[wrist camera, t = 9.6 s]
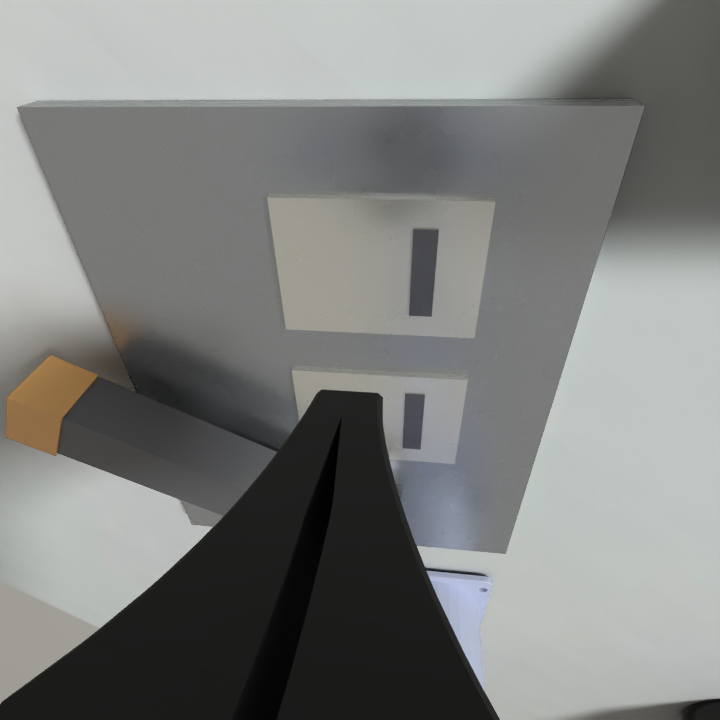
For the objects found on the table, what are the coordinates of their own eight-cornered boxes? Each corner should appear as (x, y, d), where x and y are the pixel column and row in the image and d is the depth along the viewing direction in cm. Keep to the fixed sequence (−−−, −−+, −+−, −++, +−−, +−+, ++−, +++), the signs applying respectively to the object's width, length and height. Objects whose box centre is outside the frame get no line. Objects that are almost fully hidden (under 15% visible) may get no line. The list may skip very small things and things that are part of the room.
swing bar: (353, 482, 23) (346, 531, 21) (330, 508, 24) (321, 556, 22) (50, 354, 20) (6, 397, 18) (46, 393, 21) (5, 437, 19)
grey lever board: (503, 537, 27) (515, 631, 23) (198, 509, 29) (161, 592, 25) (632, 98, 13) (716, 145, 9) (37, 100, 15) (-99, 140, 11)
